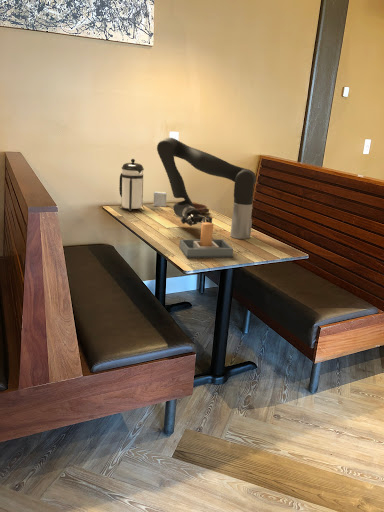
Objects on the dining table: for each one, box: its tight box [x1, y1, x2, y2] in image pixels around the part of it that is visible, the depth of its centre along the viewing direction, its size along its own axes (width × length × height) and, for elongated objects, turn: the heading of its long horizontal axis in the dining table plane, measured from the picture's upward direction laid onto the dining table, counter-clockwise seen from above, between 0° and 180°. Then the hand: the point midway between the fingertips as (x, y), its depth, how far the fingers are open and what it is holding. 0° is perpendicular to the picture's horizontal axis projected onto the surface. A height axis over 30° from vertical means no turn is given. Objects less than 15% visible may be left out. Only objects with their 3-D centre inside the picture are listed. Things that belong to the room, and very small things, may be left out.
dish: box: [192, 202, 210, 216], centre depth 252 cm, size 18×22×5 cm
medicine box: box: [152, 191, 167, 208], centre depth 266 cm, size 8×4×9 cm, turn 92°
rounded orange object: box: [200, 221, 214, 247], centre depth 180 cm, size 5×5×12 cm
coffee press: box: [118, 158, 145, 213], centre depth 248 cm, size 17×16×30 cm
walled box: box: [179, 238, 234, 259], centre depth 182 cm, size 20×14×4 cm
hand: (200, 223), depth 189 cm, fingers open, 8 cm apart
